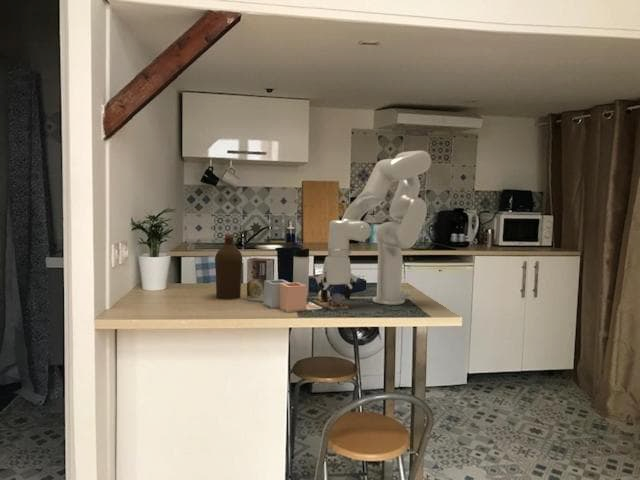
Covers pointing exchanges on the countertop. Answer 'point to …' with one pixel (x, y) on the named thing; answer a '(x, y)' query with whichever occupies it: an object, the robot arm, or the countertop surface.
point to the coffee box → (258, 277)
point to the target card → (312, 306)
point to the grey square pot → (272, 292)
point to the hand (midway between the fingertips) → (335, 299)
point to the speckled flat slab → (330, 304)
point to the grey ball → (337, 299)
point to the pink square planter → (292, 297)
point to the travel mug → (301, 267)
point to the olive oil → (228, 270)
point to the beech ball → (327, 295)
